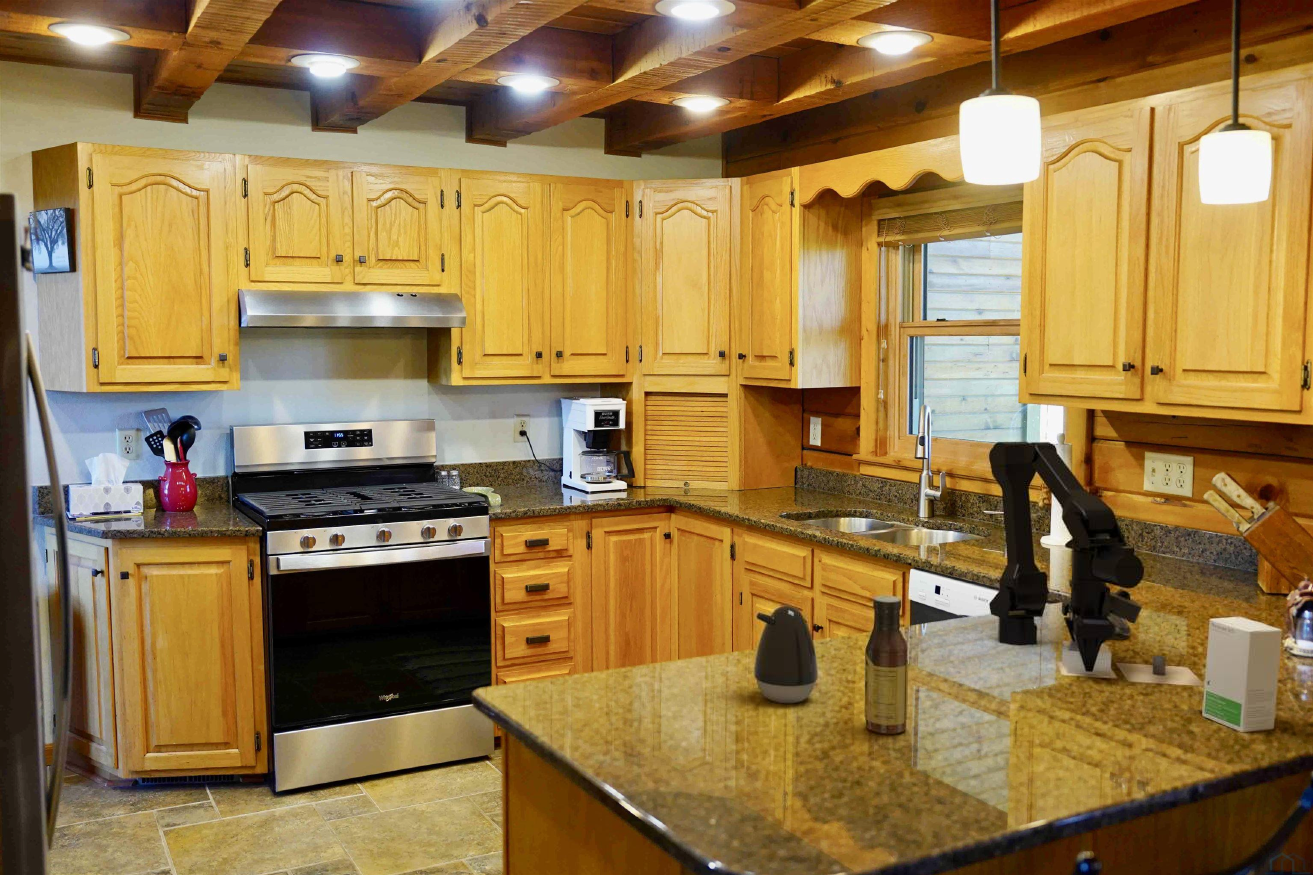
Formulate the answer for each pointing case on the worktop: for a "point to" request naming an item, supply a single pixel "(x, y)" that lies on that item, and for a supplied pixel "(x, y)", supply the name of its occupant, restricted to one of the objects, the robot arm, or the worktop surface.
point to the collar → (1075, 663)
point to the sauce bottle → (886, 670)
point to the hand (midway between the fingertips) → (1085, 665)
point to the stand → (1081, 674)
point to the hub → (1159, 673)
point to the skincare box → (1242, 673)
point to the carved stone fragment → (1120, 627)
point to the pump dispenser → (785, 657)
